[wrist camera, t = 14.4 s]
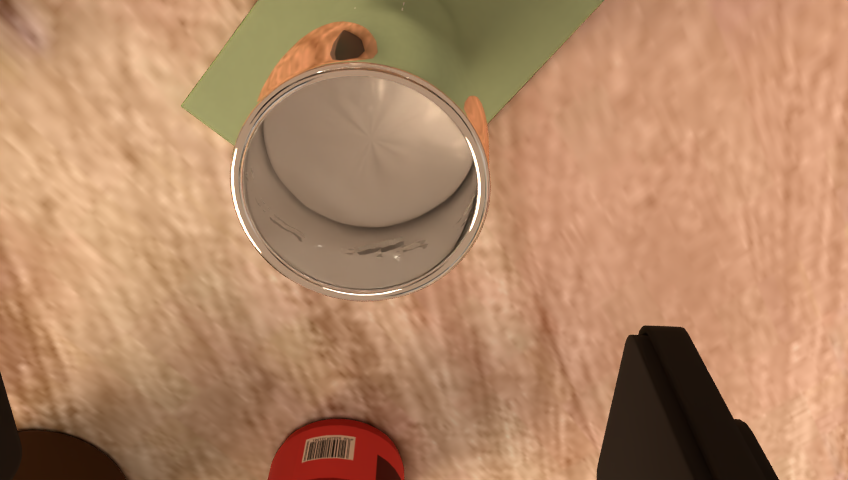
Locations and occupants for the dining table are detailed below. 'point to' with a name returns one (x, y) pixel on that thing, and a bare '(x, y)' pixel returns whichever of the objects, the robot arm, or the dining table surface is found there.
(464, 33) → the drying mat
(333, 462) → the canned food
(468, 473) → the dining table surface
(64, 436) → the olive oil
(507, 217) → the dining table surface
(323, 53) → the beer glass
